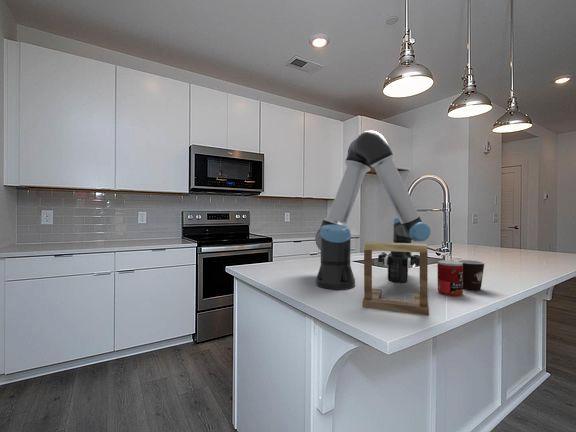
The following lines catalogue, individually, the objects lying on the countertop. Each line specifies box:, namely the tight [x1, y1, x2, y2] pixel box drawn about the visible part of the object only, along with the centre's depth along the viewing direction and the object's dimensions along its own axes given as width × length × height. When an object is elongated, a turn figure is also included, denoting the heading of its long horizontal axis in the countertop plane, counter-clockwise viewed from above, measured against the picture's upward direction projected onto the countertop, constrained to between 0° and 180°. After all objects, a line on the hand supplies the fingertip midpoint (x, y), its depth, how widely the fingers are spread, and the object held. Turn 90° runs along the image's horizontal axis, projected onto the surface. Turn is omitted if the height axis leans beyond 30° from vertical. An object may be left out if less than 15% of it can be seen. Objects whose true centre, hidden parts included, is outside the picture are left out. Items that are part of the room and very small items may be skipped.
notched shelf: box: [362, 241, 430, 316], centre depth 91 cm, size 15×18×19 cm
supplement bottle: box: [387, 251, 409, 284], centre depth 103 cm, size 7×7×12 cm
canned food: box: [437, 259, 464, 297], centre depth 102 cm, size 8×8×11 cm
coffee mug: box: [457, 259, 485, 292], centre depth 108 cm, size 12×9×10 cm
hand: (396, 263), depth 99 cm, fingers closed on supplement bottle, 7 cm apart
